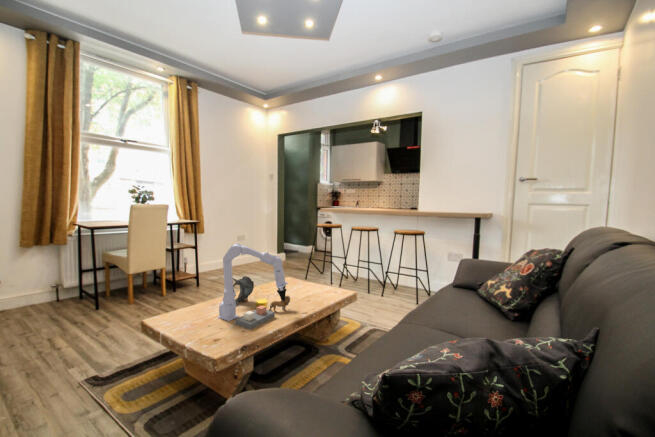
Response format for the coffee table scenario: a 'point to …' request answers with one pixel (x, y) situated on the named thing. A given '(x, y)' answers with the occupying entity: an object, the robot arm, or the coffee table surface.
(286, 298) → the lion figurine
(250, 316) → the cream cube
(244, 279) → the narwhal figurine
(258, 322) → the button housing
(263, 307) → the salmon pink block
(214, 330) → the coffee table surface
